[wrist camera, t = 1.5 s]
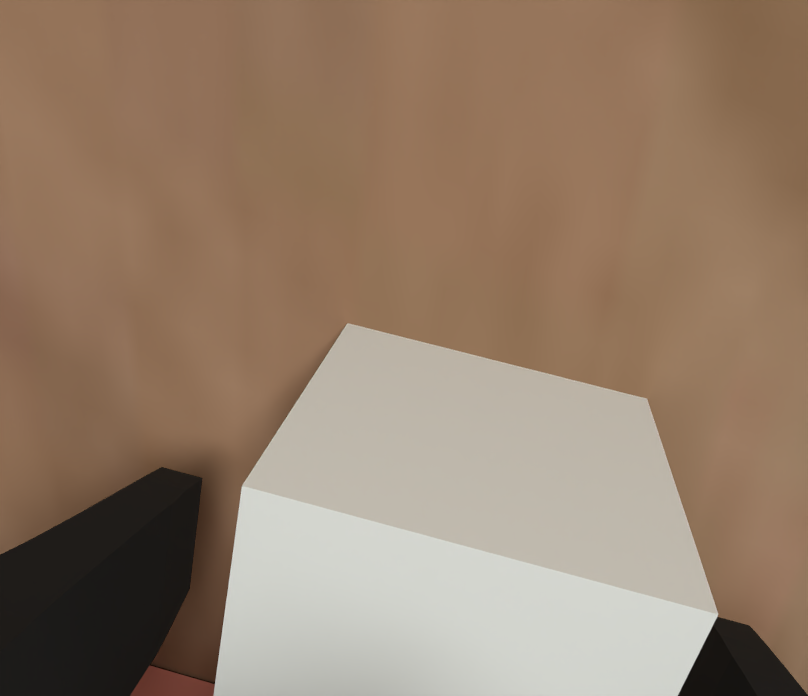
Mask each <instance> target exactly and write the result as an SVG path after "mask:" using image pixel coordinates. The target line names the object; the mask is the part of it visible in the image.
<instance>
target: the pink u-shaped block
mask: <svg viewBox="0 0 808 696" xmlns="http://www.w3.org/2000/svg"><path fill="white" fill-rule="evenodd" d="M214 687H215V684H212V683H209V682H205V681H202V680H198V679H195V678H191V677H188V676H184V675H181V674H178V673H174V672H171V671H167V670H164V669H160V668H157V667H153V666H150V665H149V667H148V669H147V670H146V672H145V673H144V675H143V676H142V678H141V679H140V681H139V683H138V684H137V686H136V687H135V689H134V690H133V692H132V693H131V695H130V696H213V695H214Z"/></svg>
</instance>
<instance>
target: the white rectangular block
mask: <svg viewBox="0 0 808 696" xmlns="http://www.w3.org/2000/svg"><path fill="white" fill-rule="evenodd" d="M717 616H718V612H717V609H716V606H715V603H714V600H713V597H712V594H711V591H710V588H709V585H708V582H707V579H706V576H705V573H704V570H703V566H702V563H701V560H700V557H699V554H698V551H697V548H696V545H695V542H694V539H693V536H692V533H691V530H690V527H689V524H688V521H687V518H686V515H685V512H684V509H683V506H682V503H681V500H680V497H679V494H678V491H677V488H676V485H675V482H674V479H673V476H672V473H671V470H670V467H669V464H668V461H667V458H666V455H665V452H664V449H663V446H662V443H661V440H660V437H659V434H658V431H657V428H656V425H655V422H654V419H653V416H652V413H651V410H650V407H649V404H648V401H647V399H646V398H642V397H638V396H634V395H630V394H626V393H622V392H618V391H614V390H610V389H606V388H602V387H598V386H594V385H590V384H586V383H582V382H578V381H574V380H570V379H566V378H563V377H559V376H555V375H551V374H547V373H543V372H539V371H535V370H531V369H527V368H523V367H519V366H515V365H511V364H507V363H503V362H499V361H495V360H491V359H487V358H483V357H479V356H475V355H471V354H467V353H463V352H460V351H456V350H452V349H448V348H444V347H440V346H436V345H432V344H428V343H424V342H420V341H416V340H412V339H408V338H404V337H400V336H396V335H392V334H388V333H384V332H380V331H376V330H372V329H368V328H364V327H361V326H357V325H353V324H349V323H347V325H346V326H345V328H344V329H343V331H342V332H341V334H340V335H339V337H338V339H337V340H336V342H335V343H334V345H333V346H332V348H331V349H330V351H329V352H328V354H327V356H326V357H325V359H324V360H323V362H322V363H321V365H320V366H319V368H318V369H317V371H316V372H315V374H314V376H313V377H312V379H311V380H310V382H309V383H308V385H307V386H306V388H305V389H304V391H303V393H302V394H301V396H300V397H299V399H298V400H297V402H296V403H295V405H294V406H293V408H292V410H291V411H290V413H289V414H288V416H287V417H286V419H285V420H284V422H283V423H282V425H281V426H280V428H279V430H278V431H277V433H276V434H275V436H274V437H273V439H272V440H271V442H270V443H269V445H268V447H267V448H266V450H265V451H264V453H263V454H262V456H261V457H260V459H259V460H258V462H257V463H256V465H255V467H254V468H253V470H252V471H251V473H250V474H249V476H248V477H247V479H246V480H245V482H244V484H243V485H242V490H241V497H240V505H239V512H238V519H237V526H236V534H235V541H234V548H233V556H232V563H231V570H230V578H229V585H228V592H227V600H226V607H225V614H224V622H223V629H222V636H221V644H220V651H219V658H218V666H217V673H216V680H215V687H214V695H213V696H678V694H679V692H680V690H681V688H682V686H683V684H684V682H685V680H686V678H687V676H688V674H689V672H690V670H691V668H692V666H693V664H694V662H695V660H696V658H697V656H698V654H699V652H700V650H701V648H702V646H703V644H704V642H705V640H706V638H707V636H708V634H709V632H710V630H711V628H712V626H713V624H714V622H715V620H716V618H717Z"/></svg>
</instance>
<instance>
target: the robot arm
mask: <svg viewBox="0 0 808 696" xmlns="http://www.w3.org/2000/svg"><path fill="white" fill-rule="evenodd" d="M201 485H202V478H200V477H196V476H193V475H189V474H185V473H181V472H178V471H174V470H170V469H167V468H163V467H161V468H159V469H158V470H156V471H154V472H152V473H150V474H148V475H146V476H145V477H143V478H141V479H139V480H137V481H136V482H134V483H132V484H130V485H129V486H127V487H125V488H123V489H121V490H120V491H118V492H116V493H114V494H113V495H111V496H109V497H107V498H106V499H104V500H102V501H100V502H99V503H97V504H95V505H93V506H91V507H90V508H88V509H86V510H84V511H83V512H81V513H79V514H77V515H75V516H74V517H72V518H70V519H68V520H66V521H64V522H62V523H61V524H59V525H57V526H55V527H53V528H51V529H49V530H48V531H46V532H44V533H42V534H40V535H38V536H37V537H35V538H33V539H31V540H29V541H27V542H25V543H23V544H21V545H19V546H17V547H15V548H13V549H11V550H9V551H7V552H5V553H3V554H1V555H0V696H130V695H131V693H132V692H133V690H134V689H135V687H136V686H137V684H138V683H139V681H140V679H141V678H142V676H143V675H144V673H145V672H146V670H147V669H148V667H149V665H150V664H151V662H152V661H153V659H154V658H155V656H156V654H157V653H158V651H159V649H160V647H161V645H162V643H163V641H164V639H165V637H166V635H167V633H168V631H169V629H170V628H171V626H172V624H173V622H174V620H175V617H176V615H177V613H178V611H179V609H180V607H181V605H182V603H183V601H184V599H185V597H186V595H187V593H188V591H189V589H190V581H191V572H192V563H193V554H194V546H195V537H196V528H197V520H198V511H199V502H200V493H201ZM678 696H808V695H807V694H806V692H805V691H804V690H803V689H802V687H801V686H800V685H799V684H798V683H797V681H796V680H795V679H794V678H793V676H792V675H791V674H790V673H789V671H788V670H787V669H786V668H785V667H784V665H783V664H782V663H781V662H780V660H779V659H778V658H777V657H776V656H775V654H774V653H773V652H772V651H771V650H770V648H769V647H768V646H767V645H766V644H765V643H764V641H763V640H762V639H761V638H760V637H759V636H758V635H757V633H756V632H755V631H754V630H753V629H752V628H751V627H750V626H749V625H745V624H741V623H738V622H734V621H730V620H727V619H723V618H719V617H717V618H716V620H715V622H714V624H713V626H712V628H711V630H710V632H709V634H708V636H707V638H706V640H705V642H704V644H703V646H702V648H701V650H700V652H699V654H698V656H697V658H696V660H695V662H694V664H693V666H692V668H691V670H690V672H689V674H688V676H687V678H686V680H685V682H684V684H683V686H682V688H681V690H680V692H679V694H678Z"/></svg>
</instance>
